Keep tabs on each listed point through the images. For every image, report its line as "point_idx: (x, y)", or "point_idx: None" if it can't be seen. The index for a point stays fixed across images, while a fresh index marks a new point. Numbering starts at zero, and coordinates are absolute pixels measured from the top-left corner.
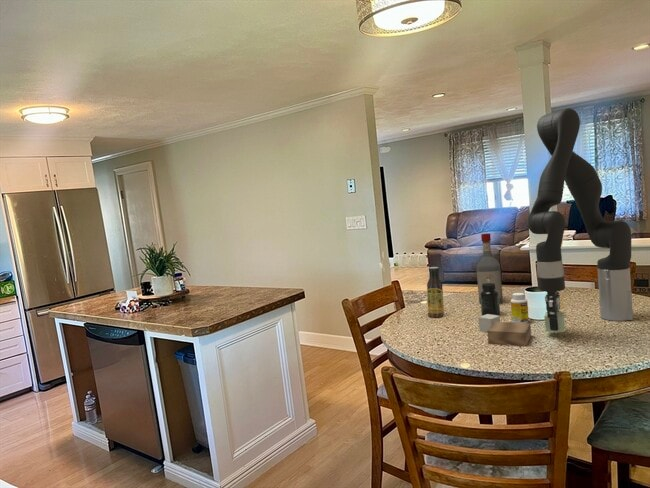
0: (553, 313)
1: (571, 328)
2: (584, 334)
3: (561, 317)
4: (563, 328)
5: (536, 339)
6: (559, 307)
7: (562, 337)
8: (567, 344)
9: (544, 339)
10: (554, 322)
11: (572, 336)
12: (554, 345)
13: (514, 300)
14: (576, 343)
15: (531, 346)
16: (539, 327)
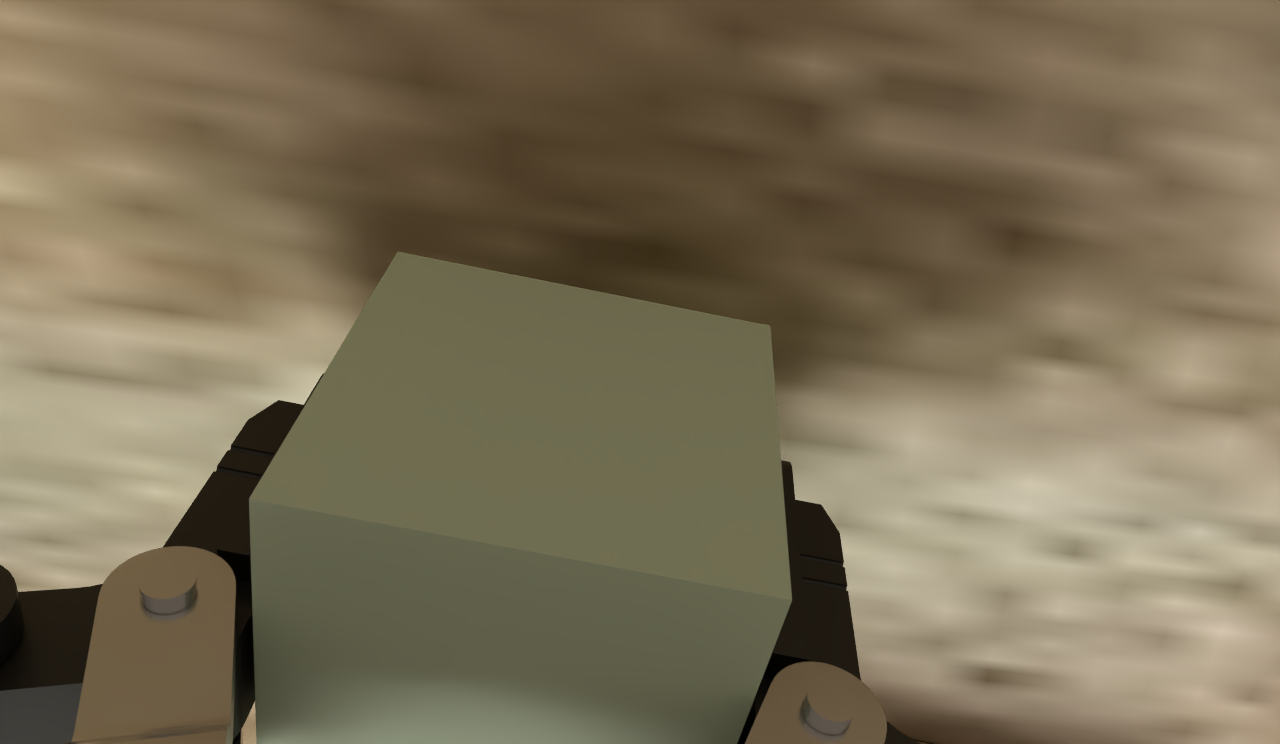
0: (408, 721)
1: (21, 11)
2: None
3: (778, 592)
4: (727, 358)
5: None
6: (229, 733)
7: (740, 289)
8: (1230, 277)
9: (848, 559)
10: (841, 650)
11: (671, 95)
12: (1230, 478)
13: None
14: (1207, 102)
15: (1192, 739)
16: (117, 533)
